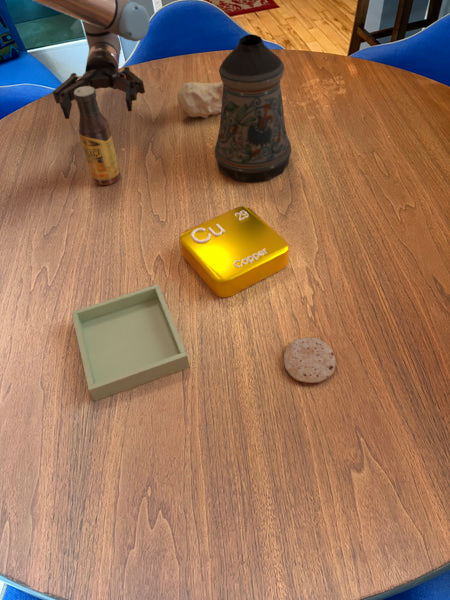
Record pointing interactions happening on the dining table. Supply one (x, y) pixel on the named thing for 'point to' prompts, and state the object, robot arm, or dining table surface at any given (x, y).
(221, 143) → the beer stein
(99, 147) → the sauce bottle
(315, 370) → the flatbread
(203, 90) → the beige rock
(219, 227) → the element tile
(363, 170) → the dining table surface
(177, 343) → the serving tray
